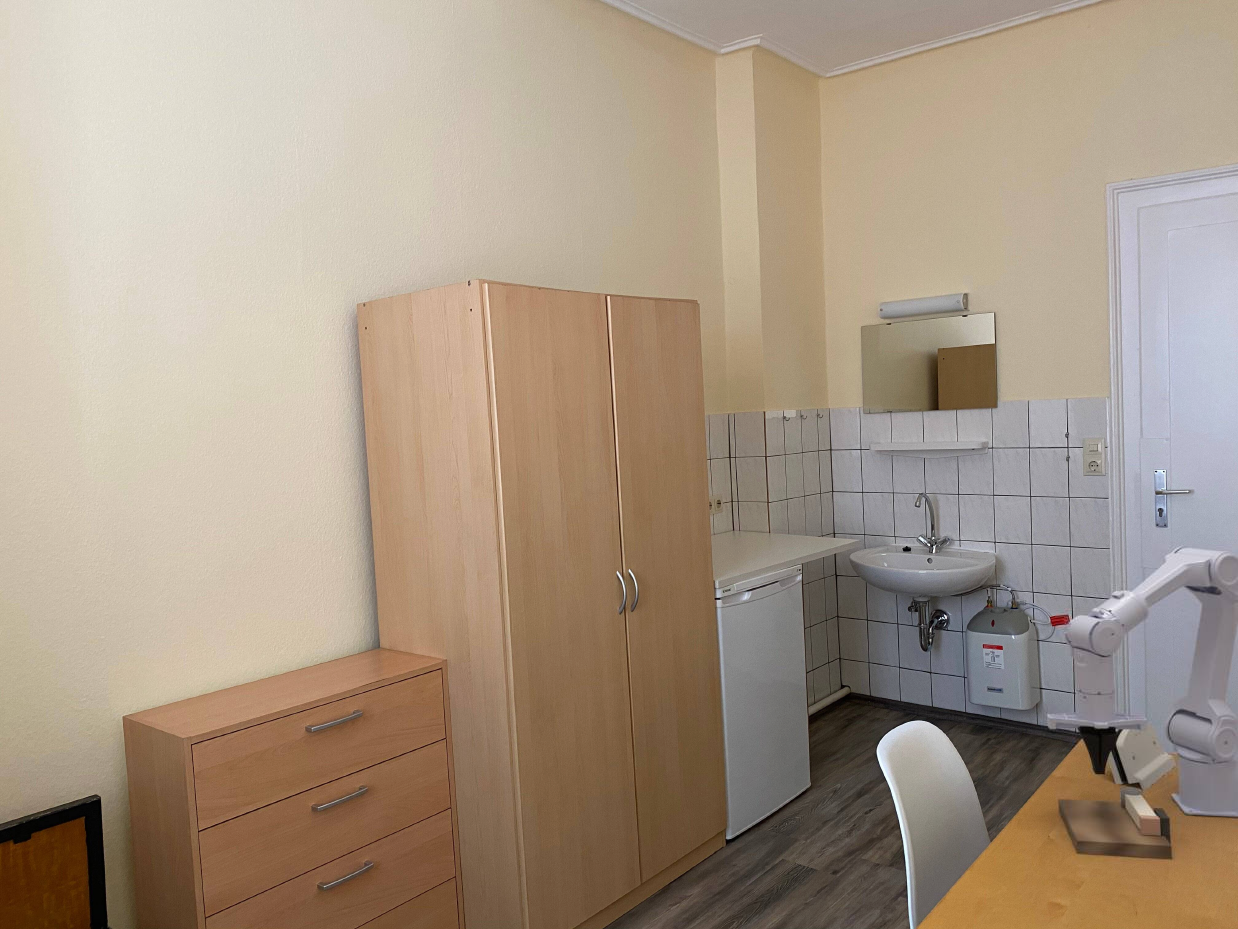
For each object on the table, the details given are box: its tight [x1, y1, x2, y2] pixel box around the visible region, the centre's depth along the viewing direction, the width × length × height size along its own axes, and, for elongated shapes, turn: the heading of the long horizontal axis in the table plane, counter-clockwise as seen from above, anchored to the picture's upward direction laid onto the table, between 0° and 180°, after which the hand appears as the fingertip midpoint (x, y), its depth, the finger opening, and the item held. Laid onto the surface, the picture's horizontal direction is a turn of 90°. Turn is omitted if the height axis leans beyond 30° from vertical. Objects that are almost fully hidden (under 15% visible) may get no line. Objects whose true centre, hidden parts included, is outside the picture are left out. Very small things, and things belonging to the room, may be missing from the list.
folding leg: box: [1119, 786, 1161, 836], centre depth 150 cm, size 13×3×3 cm, turn 165°
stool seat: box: [1057, 798, 1173, 860], centre depth 150 cm, size 14×16×5 cm
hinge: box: [1107, 722, 1177, 791], centre depth 174 cm, size 17×5×10 cm, turn 132°
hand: (1098, 772), depth 151 cm, fingers closed
